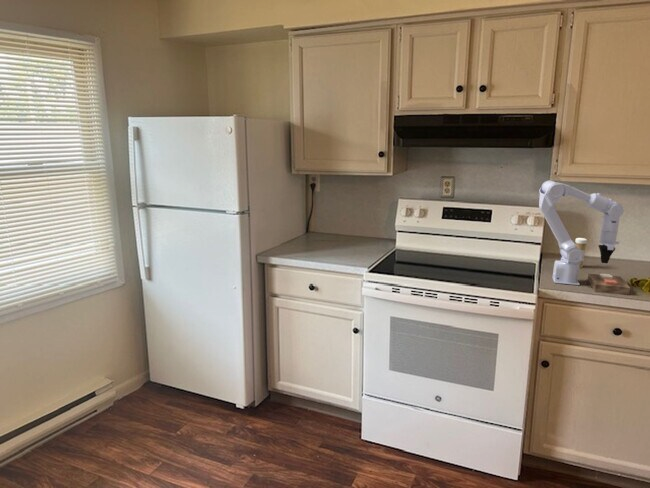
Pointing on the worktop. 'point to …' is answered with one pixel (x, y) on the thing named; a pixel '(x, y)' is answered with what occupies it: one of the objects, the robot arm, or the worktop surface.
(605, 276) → the white key
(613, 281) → the red key
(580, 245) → the sprinkles bottle
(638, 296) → the worktop surface
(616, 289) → the key box
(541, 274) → the worktop surface
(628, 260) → the worktop surface
